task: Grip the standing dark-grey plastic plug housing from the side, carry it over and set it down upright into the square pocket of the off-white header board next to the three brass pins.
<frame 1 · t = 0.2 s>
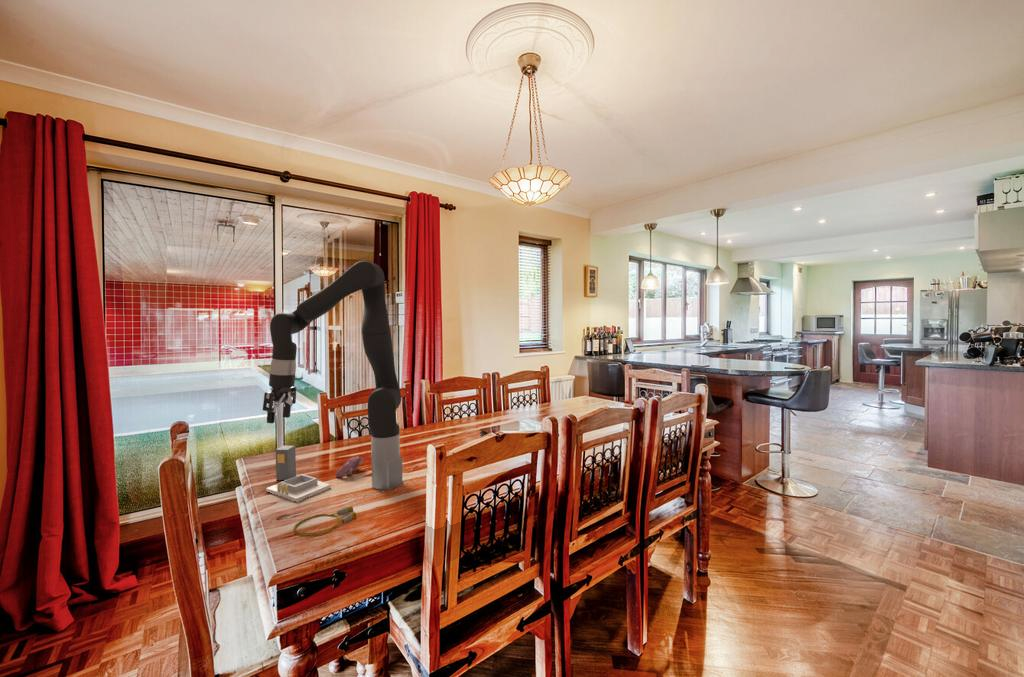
hand: (278, 420, 137), 22 cm above the table, tool pointing down, fingers open, 8 cm apart
extension cord: (326, 525, 113), on the table
purple lumpy piece: (350, 473, 149), on the table
plug housing: (286, 478, 144), on the table
header board: (298, 489, 134), on the table
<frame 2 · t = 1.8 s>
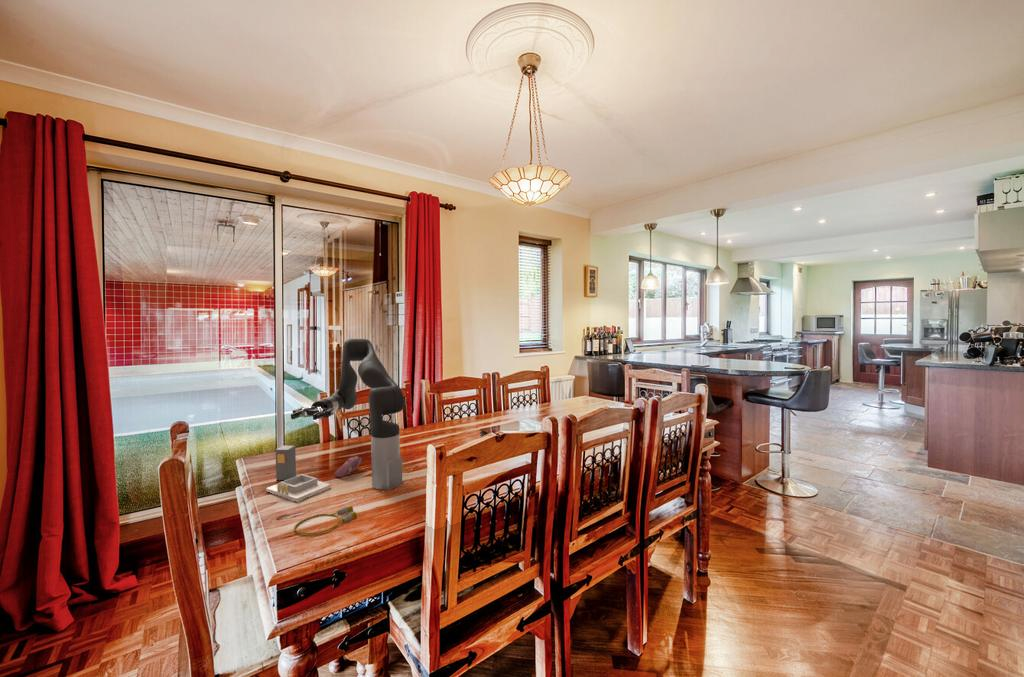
hand: (302, 417, 154), 19 cm above the table, tool horizontal, fingers open, 8 cm apart
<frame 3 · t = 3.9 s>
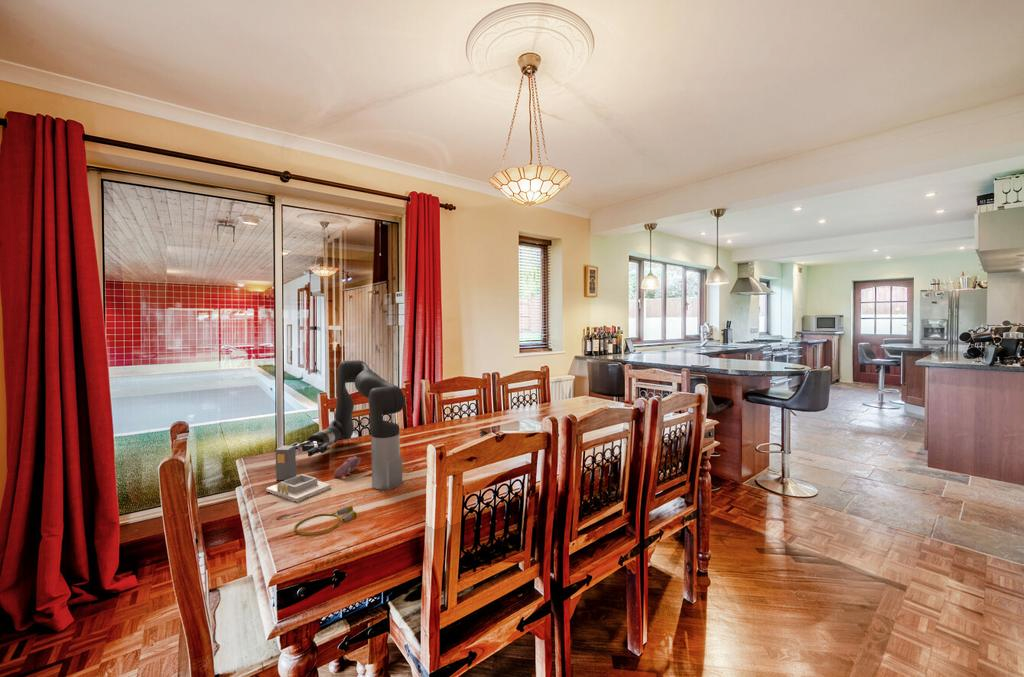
hand: (297, 453, 151), 6 cm above the table, tool horizontal, fingers open, 8 cm apart
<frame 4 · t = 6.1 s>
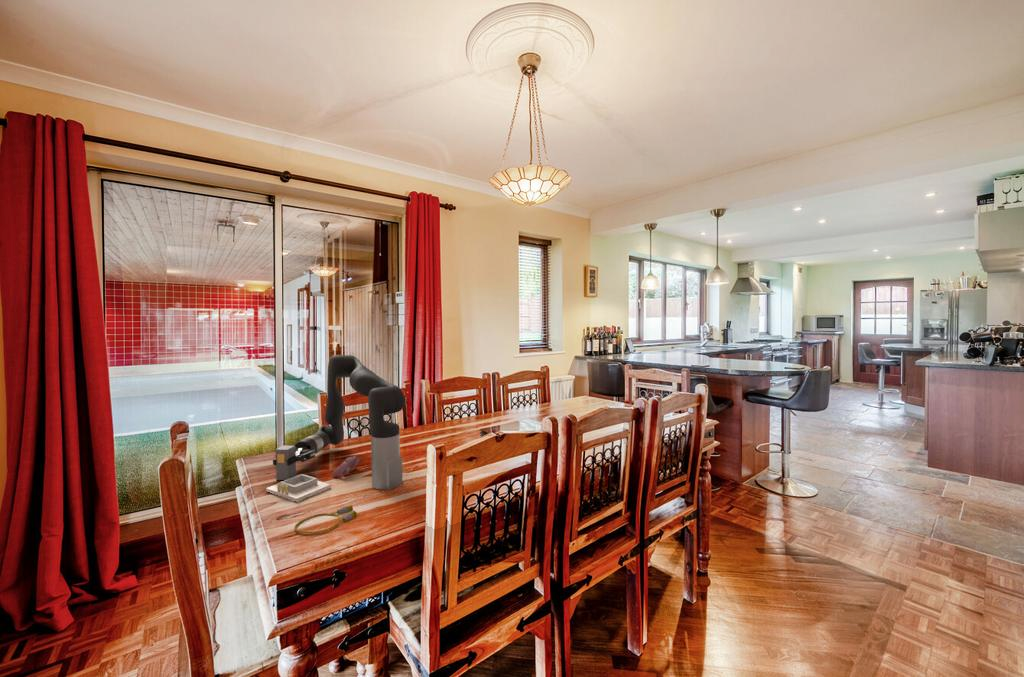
hand: (281, 462, 141), 7 cm above the table, tool horizontal, fingers closed on plug housing, 4 cm apart
plug housing: (286, 478, 144), on the table, touching gripper
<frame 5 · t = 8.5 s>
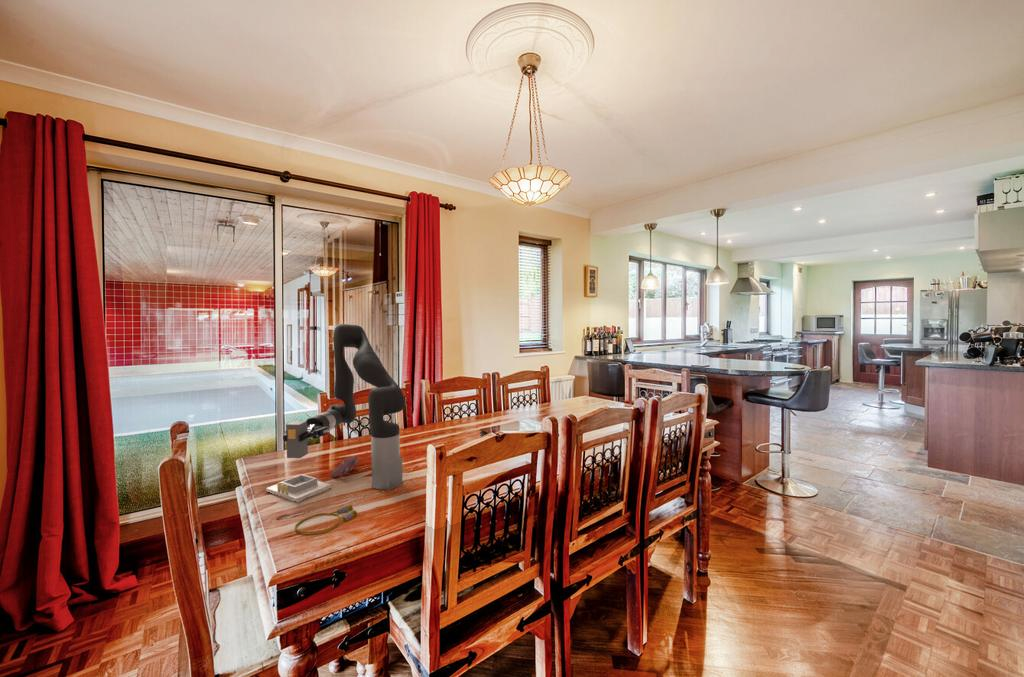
hand: (292, 438, 131), 18 cm above the table, tool horizontal, fingers closed on plug housing, 4 cm apart
plug housing: (297, 455, 134), point 11 cm above the table, touching gripper
when the fingers open (9 cm above the table, at t = 10.7 s): plug housing stays where it is, resting on header board.
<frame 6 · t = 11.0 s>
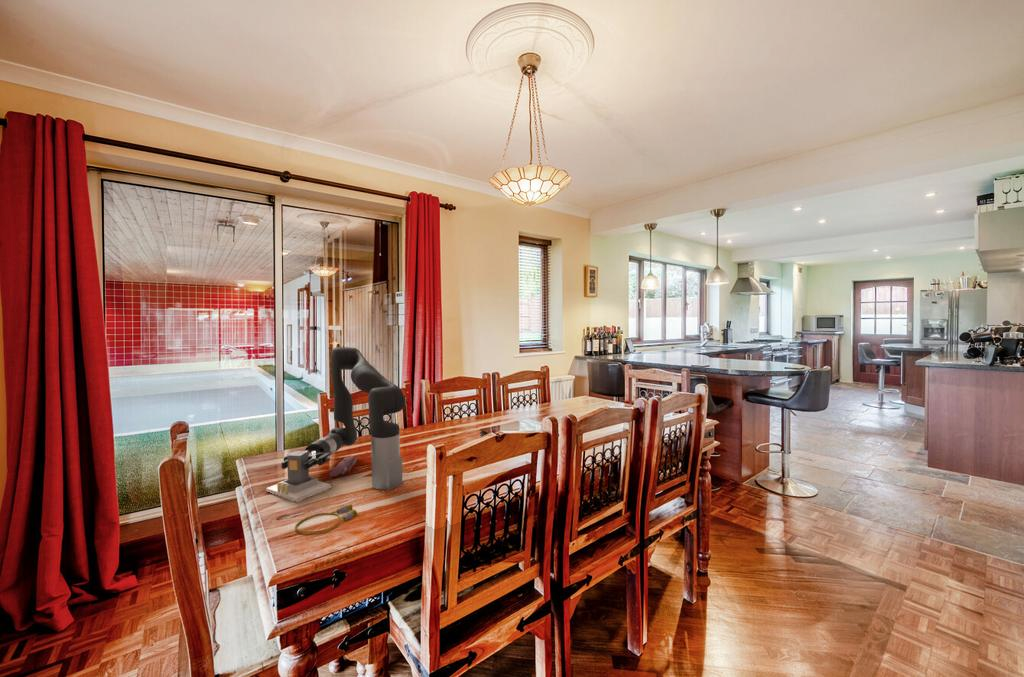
hand: (294, 466, 132), 9 cm above the table, tool horizontal, fingers open, 7 cm apart
plug housing: (298, 486, 134), point 1 cm above the table, touching header board
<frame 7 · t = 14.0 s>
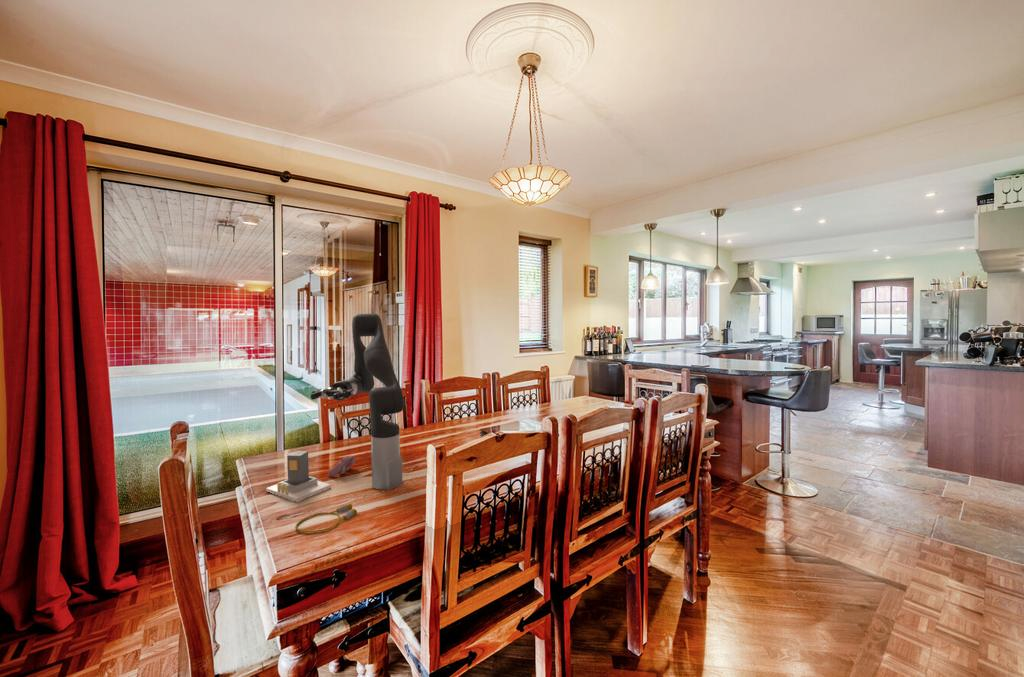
hand: (323, 396, 150), 28 cm above the table, tool horizontal, fingers open, 8 cm apart
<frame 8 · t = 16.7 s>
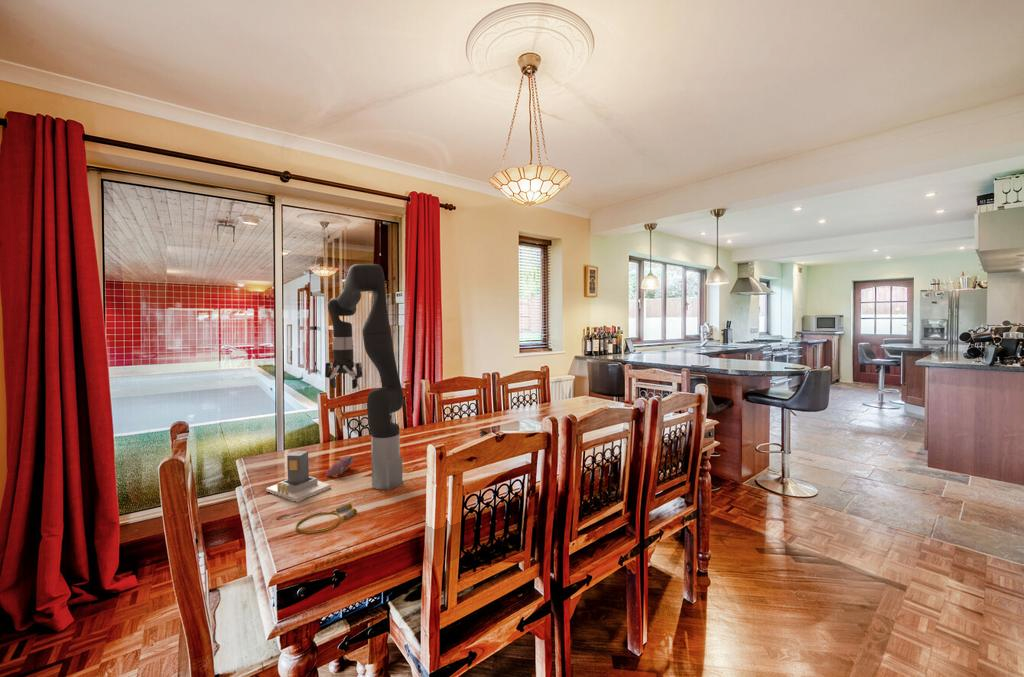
hand: (344, 388, 164), 28 cm above the table, tool pointing down, fingers open, 8 cm apart
at the end: plug housing 0.0 cm off-centre on the header board, point 1.2 cm above the header board's base; plug housing tilted 0°; the gripper is holding nothing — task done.
